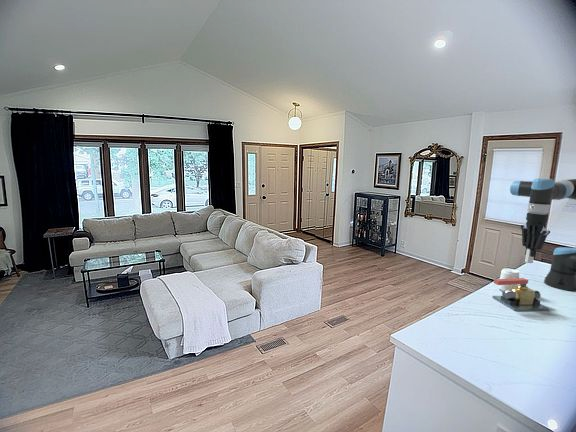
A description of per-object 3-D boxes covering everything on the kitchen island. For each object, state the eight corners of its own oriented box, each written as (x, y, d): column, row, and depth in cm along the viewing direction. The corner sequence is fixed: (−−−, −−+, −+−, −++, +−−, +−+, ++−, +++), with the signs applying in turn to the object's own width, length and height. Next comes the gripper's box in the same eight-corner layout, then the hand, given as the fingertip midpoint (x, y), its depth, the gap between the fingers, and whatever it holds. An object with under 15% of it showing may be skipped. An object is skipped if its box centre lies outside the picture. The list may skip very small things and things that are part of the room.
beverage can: (519, 294, 163) (523, 273, 161) (504, 293, 163) (508, 272, 161) (509, 288, 171) (512, 268, 169) (495, 287, 171) (498, 267, 169)
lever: (522, 284, 151) (523, 278, 150) (527, 286, 148) (528, 280, 148) (493, 285, 148) (494, 279, 147) (497, 288, 145) (498, 281, 145)
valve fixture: (524, 297, 159) (527, 280, 157) (548, 310, 145) (552, 292, 143) (492, 297, 157) (495, 280, 155) (514, 310, 143) (517, 292, 142)
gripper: (518, 210, 142) (509, 258, 146) (543, 215, 129) (533, 267, 133) (532, 210, 142) (524, 258, 146) (559, 215, 129) (549, 267, 134)
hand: (528, 262), depth 140 cm, fingers closed
